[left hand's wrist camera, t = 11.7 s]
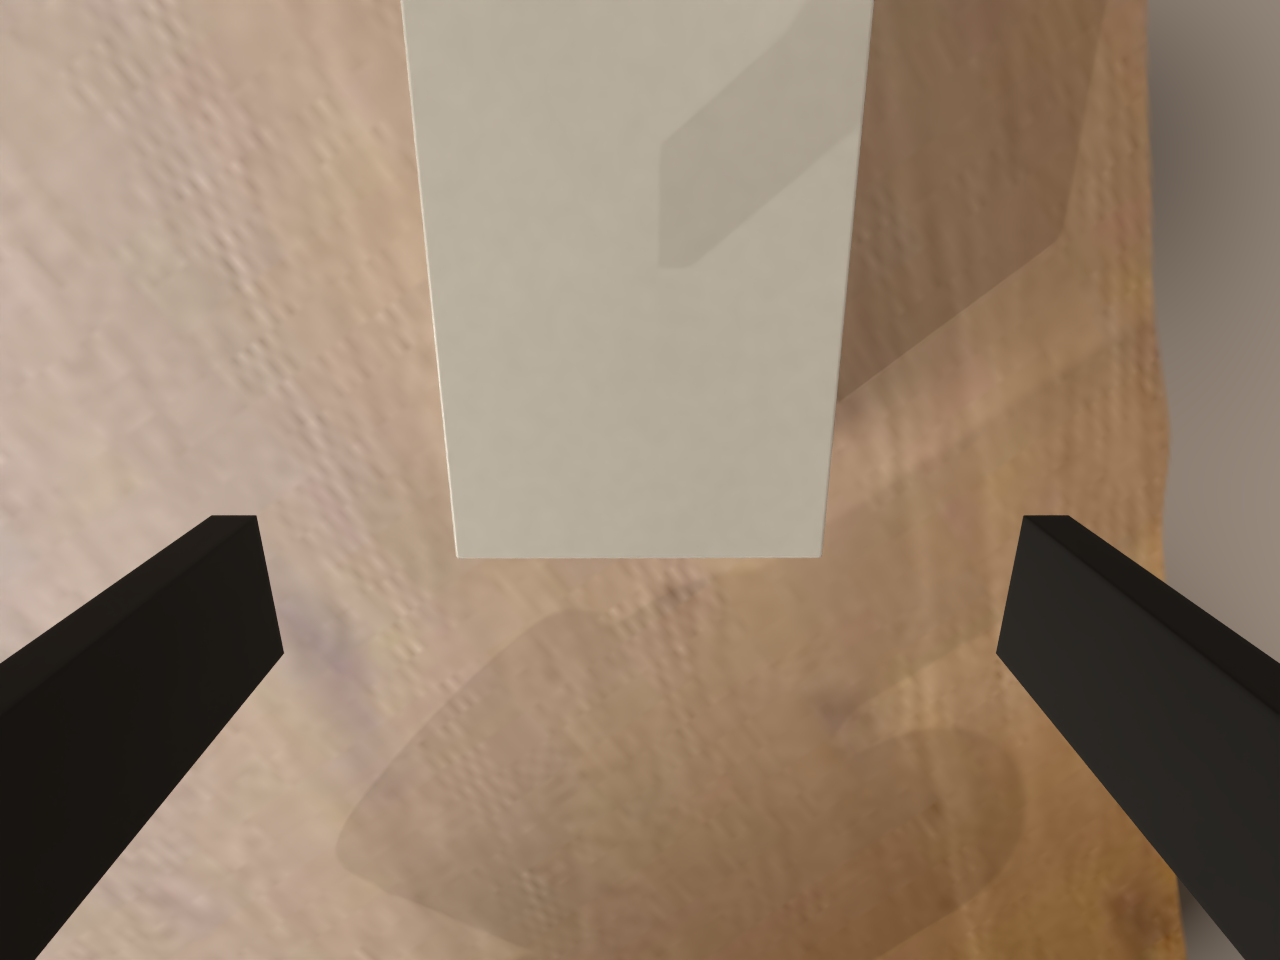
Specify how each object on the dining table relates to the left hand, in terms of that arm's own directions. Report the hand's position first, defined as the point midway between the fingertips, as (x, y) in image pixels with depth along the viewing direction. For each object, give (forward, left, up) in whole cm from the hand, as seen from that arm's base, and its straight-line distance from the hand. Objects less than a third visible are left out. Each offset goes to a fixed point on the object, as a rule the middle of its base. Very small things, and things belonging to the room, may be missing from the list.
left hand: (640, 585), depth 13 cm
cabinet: (+5, 0, -16) cm, 17 cm away
